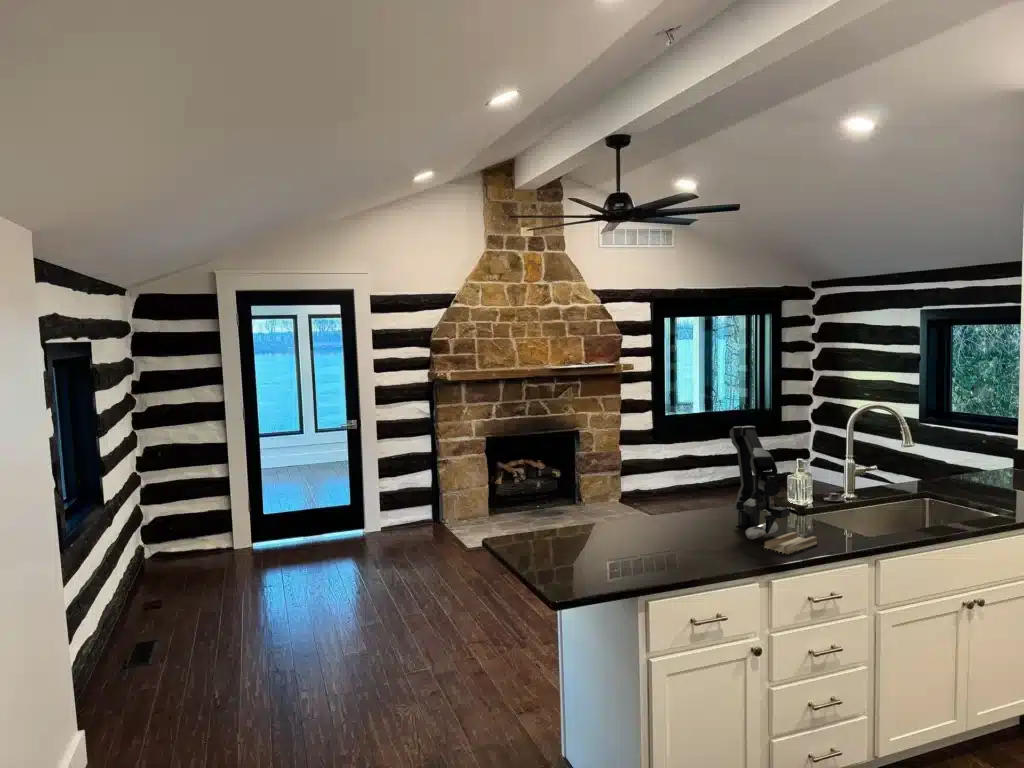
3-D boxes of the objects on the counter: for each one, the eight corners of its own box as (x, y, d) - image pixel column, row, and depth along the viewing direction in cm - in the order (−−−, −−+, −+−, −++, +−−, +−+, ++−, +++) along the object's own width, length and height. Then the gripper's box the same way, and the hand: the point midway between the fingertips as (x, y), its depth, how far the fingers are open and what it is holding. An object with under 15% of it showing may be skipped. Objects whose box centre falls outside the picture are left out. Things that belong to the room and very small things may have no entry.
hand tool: (805, 514, 298) (806, 503, 298) (797, 515, 297) (797, 504, 297) (779, 503, 317) (779, 493, 316) (771, 504, 316) (771, 493, 315)
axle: (755, 540, 259) (755, 529, 259) (745, 538, 262) (745, 527, 262) (777, 532, 268) (778, 522, 267) (768, 530, 271) (768, 520, 271)
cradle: (764, 548, 254) (764, 541, 254) (793, 538, 265) (793, 531, 265) (787, 554, 247) (788, 547, 247) (816, 543, 258) (816, 537, 258)
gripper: (726, 488, 266) (726, 530, 268) (772, 497, 252) (772, 542, 253) (745, 484, 273) (744, 525, 274) (790, 492, 258) (790, 535, 260)
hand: (762, 531), depth 265 cm, fingers closed on axle, 4 cm apart
